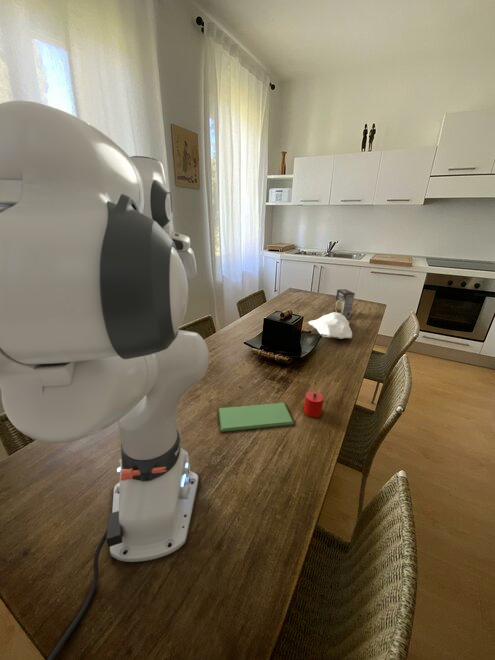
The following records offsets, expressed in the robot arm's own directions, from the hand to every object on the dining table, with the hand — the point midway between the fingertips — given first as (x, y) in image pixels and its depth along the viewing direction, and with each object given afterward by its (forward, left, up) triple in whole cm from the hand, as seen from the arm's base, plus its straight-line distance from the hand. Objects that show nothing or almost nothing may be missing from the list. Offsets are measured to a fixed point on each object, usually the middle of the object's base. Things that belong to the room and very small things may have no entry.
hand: (157, 294), depth 72 cm
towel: (-4, -26, -39) cm, 47 cm away
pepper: (-4, -45, -39) cm, 60 cm away
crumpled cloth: (+55, -78, -39) cm, 104 cm away
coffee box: (+79, -97, -39) cm, 131 cm away
